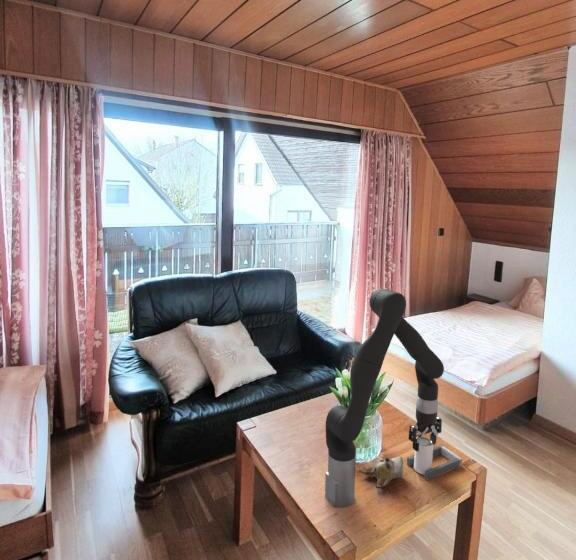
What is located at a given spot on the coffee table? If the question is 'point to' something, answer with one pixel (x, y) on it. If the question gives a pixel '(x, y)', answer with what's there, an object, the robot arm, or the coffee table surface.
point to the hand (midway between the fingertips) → (424, 446)
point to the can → (423, 456)
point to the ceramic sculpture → (386, 470)
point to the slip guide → (452, 464)
